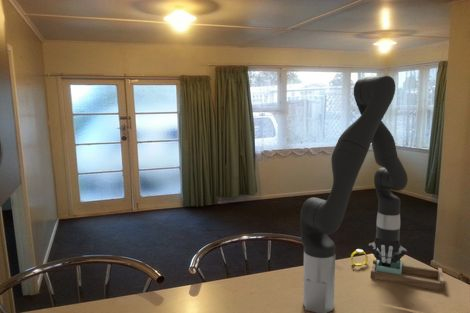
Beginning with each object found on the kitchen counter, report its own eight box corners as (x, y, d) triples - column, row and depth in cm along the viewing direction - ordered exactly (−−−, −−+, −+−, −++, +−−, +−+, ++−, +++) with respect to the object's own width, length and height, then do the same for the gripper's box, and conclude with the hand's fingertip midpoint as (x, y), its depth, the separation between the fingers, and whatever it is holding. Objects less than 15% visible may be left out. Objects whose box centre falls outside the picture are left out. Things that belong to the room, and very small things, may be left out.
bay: (443, 292, 113) (444, 281, 113) (370, 279, 123) (370, 268, 122) (440, 278, 122) (441, 268, 121) (372, 267, 132) (373, 257, 131)
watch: (365, 264, 135) (367, 249, 134) (367, 267, 132) (369, 252, 131) (349, 262, 135) (351, 248, 134) (351, 266, 133) (353, 251, 132)
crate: (401, 281, 120) (401, 270, 119) (375, 276, 123) (376, 265, 123) (401, 272, 126) (402, 261, 125) (377, 268, 129) (377, 257, 129)
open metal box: (399, 270, 129) (400, 253, 128) (376, 266, 132) (376, 250, 131) (399, 261, 136) (400, 245, 135) (377, 258, 139) (378, 242, 138)
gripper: (366, 225, 122) (365, 272, 124) (409, 231, 116) (406, 280, 119) (368, 219, 128) (367, 264, 131) (409, 224, 123) (406, 270, 125)
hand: (385, 271), depth 125 cm, fingers closed
